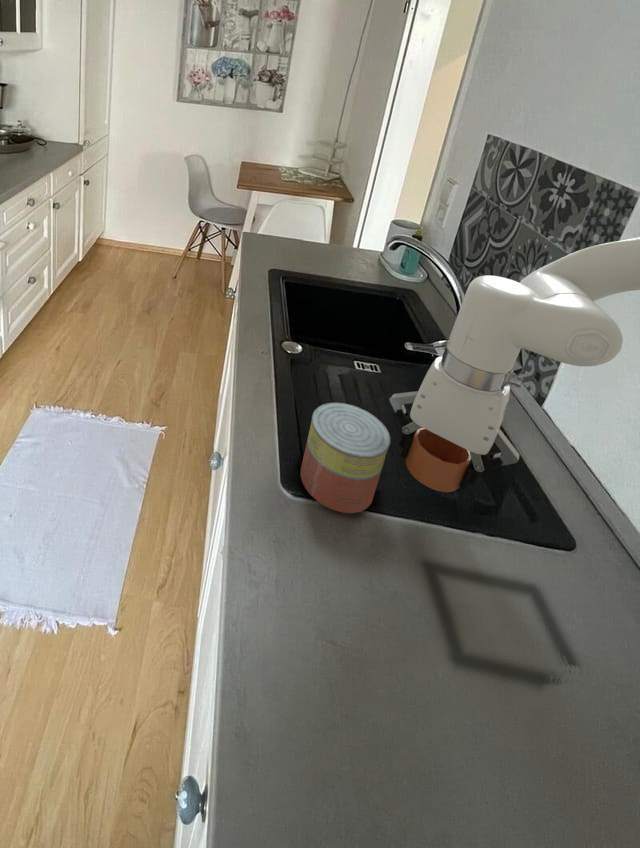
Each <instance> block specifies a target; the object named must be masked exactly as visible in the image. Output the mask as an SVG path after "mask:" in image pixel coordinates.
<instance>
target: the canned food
mask: <svg viewBox="0 0 640 848" xmlns="http://www.w3.org/2000/svg"><path fill="white" fill-rule="evenodd" d="M391 440H392V439H391V435H390V433H389V430H388V428H387V427H386V426H385V424H383V422H382V421H381V420H380V419H379V418H378V417H376V416H375V415H373V414H372V413H370V412H369V411H367V410H365V409H363V408H361V407H359V406H357V405H353V404H349V403H344V402H328V403H323V404H321V405H319V406H318V407H316V408H315V409H314V410H313V412H312V414H311V421H310V427H309V431H308V436H307V439H306V444H305V448H304V453H303V458H302V461H301V467H300V472H299V473H300V480H301V483H302V485H303V486H304V488H305V490H306V491H307V493H308V494H309V495H310V496H311V497H312V498H313V499H314V500H315V501H316V502H318V503H320V504H321V505H323V506H324V507H326V508H328V509H330V510H333V511H335V512H340V513H345V514H356V513H360V512H363V511H366V509H368V508H369V507H370V506H371V504H372V503H373V499H374V496H375V493H376V489H377V486H378V483H379V479H380V476H381V474H382V470H383V468H384V464H385V460H386V456H387V453H388V450H389V448H390V446H391V443H392V442H391Z"/></svg>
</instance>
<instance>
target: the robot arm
mask: <svg viewBox="0 0 640 848" xmlns="http://www.w3.org/2000/svg"><path fill="white" fill-rule="evenodd" d="M633 291H640V236H638V237H632V238H628V239H622V240H617V241H610V242H605V243H601V244H597V245H591V246H589V247H585V248H582V249H579V250H576V251H574V252H571V253H569V254H567V255H565V256H562V257H560V258H558V259H556V260H554V261H551V262H549V263H548V264H546V265H544V266H541V267H539V268H538V269H536V270H534V271H532V272H531V273H529V274H528V275H526V276H525V277H524V278H522V279H521V280H520V281H517V280H514V279H511V278H507V277H503V276H498V275H489V274H488V275H487V274H486V275H480V276H477V277H475V278H473V280H472V281H470V282H469V284H468V286H467V289H466V291H465V294H464V297H463V300H462V301H461V305H460V307H459V311H458V313H457V316H456V319H455V321H454V323H453V327H452V329H451V332H450V335H449V338H448V341H447V342H446V346H445V348H444V351H443V354H442V356H438V357H436V358H435V359H434V361H433V362H432V363H431V364H430V366H429V369H428V370H427V371H426V374H425V375H424V378H423V380H422V382H421V384H420V387H419V389H418V390H416V391H407V392H397V393H393V394H392V395H391V396H390V397H389V403H390V405H391V407H392V410H393V411H394V414H395V417H396V419H397V422H399V424H400V426H401V431H402V435H401V438H400V441H399V444H398V446H399V447H400V448H401V449H402V450H401V453H400V457H401V458H403V459H406V456H407V454H408V451H409V448H410V445H411V443H412V440H413V437H414V435H415V433H416V431H417V430H418V429H420V428H422V427H423V428H425V429H427V430H429V431H431V432H433V433H434V434H436V435H438V436H440V437H442V438H444V439H446V440H448V441H450V442H452V443H454V444H457V445H459V446H461V447H463V448H465V449H467V450H469V452H470V456H471V461H470V464H469V466H468V468H467V470H466V473H465V475H464V477H463V480H462V482H461V484H460V487H459V488H460V490H462V491H464V492H465V491H466V489H467V487H468V485H471V486H472V487H473V486H475V483H476V482H477V479H478V477H479V474H480V473H483V472H484V471H485V470H491V469H500V468H502V466H509V465H512V464H517V463H519V460H520V453H519V452H518V451H517V449H516V448H515V446H514V445H513V443H511V442H510V440H509V439H508V437H507V436H506V435H505V434H504V432H503V431H502V430H501V425H502V424H503V423H502V422H503V420H504V417H505V414H506V411H507V408H508V404H509V400H510V395H511V387H513V386H514V387H516V388H521V386H522V383H523V380H524V378H523V377H521V376H519V375H518V374H517V373H515V370H513V367H514V366H515V363H516V361H517V359H518V357H519V354H520V352H521V349H523V350H526V351H529V352H532V353H534V354H537V355H540V356H543V357H546V358H548V359H550V360H553V361H556V362H559V363H562V364H565V365H571V366H575V367H596V366H597V367H598V366H601V365H603V364H607V363H608V362H611V361H612V360H613V359H614V358H616V357H617V356H618V355H619V353H620V352H621V350H622V348H623V341H624V339H623V334H622V331H621V329H620V327H619V325H618V324H617V323H616V321H615V320H614V319H613V318H612V317H611V315H609V314H608V313H607V312H606V310H604V309H603V308H602V307H600V306H599V305H598V304H597V302H595V301H598V300H600V299H603V298H606V297H609V296H614V295H615V294H621V293H626V292H633ZM410 404H412V406H411V409H410V411H408V409H407V408H406V407H405V405H410ZM494 444H495V445H496V447H497V448H498V449H499V451H500V452H491V453H490V451H491V449H492V447H493V445H494Z"/></svg>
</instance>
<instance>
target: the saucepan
mask: <svg viewBox="0 0 640 848" xmlns="http://www.w3.org/2000/svg"><path fill="white" fill-rule="evenodd" d="M470 461H471V456H470V452H469V450H467V449H465V448H463V447H461V446H459V445H457V444H454V443H452V442H450V441H448V440H446V439H444V438H442V437H440V436H438V435H436V434H434V433H433V432H431V431H429V430H427V429H425V428H423V427H422V428H420V429H418V430H417V431H416V433H415V435H414V437H413V440H412V443H411V445H410V448H409V451H408V454H407V456H406V458H405V465H406V468H407V471H409V473H410V474H411V475H412V477H413V478H414V479H415V480H416V481H418V482H419V483H421V484H422V485H424V486H425V487H427V488H430V489H431V490H434V491H437V492H442V493H452V492H455V491H457V490H458V489H459V488H460V484H461V482H462V480H463V477H464V475H465V473H466V470H467V468H468V466H469V464H470Z"/></svg>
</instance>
